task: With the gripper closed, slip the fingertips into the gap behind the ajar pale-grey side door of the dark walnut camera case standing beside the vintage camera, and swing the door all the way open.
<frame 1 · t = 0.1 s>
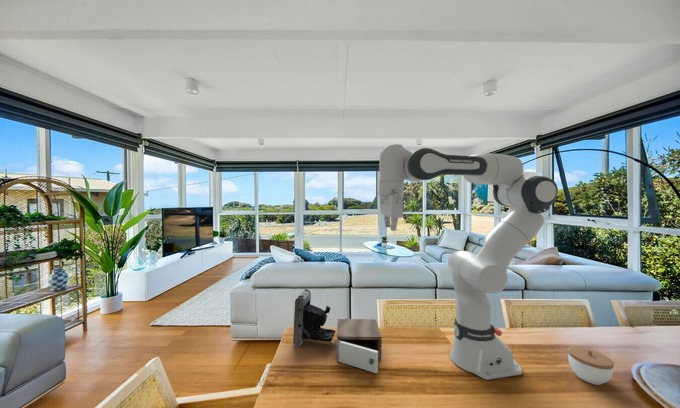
hand: (390, 228, 89), 48 cm above the table, fingers open, 8 cm apart
case: (357, 348, 96), on the table
door: (356, 356, 85), point 4 cm above the table, hinge at 25.0°
vintage camera: (315, 342, 100), on the table
lidded jar: (588, 378, 82), on the table
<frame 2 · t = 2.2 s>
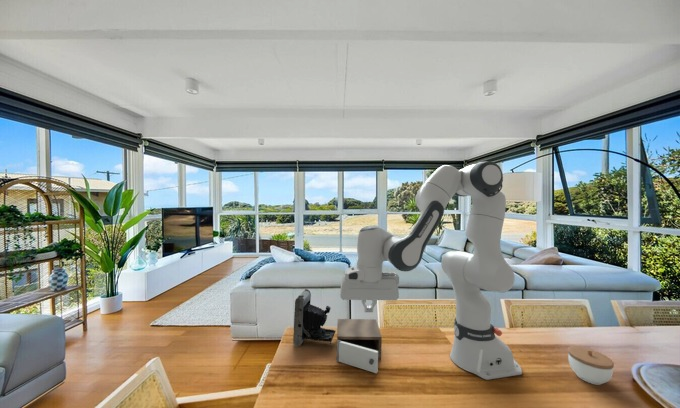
hand: (368, 311, 86), 19 cm above the table, fingers closed
nothing on the table moved.
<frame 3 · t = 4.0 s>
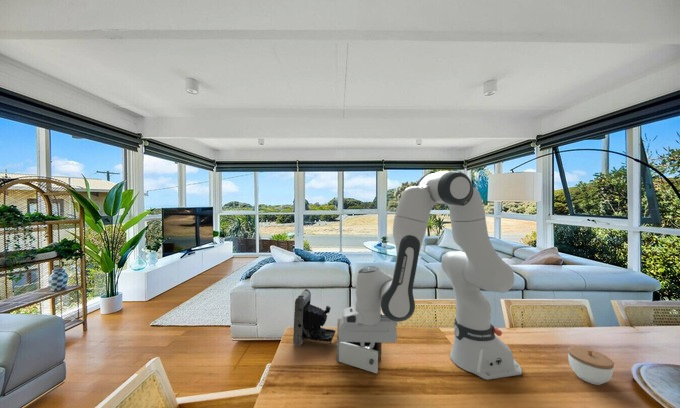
hand: (366, 353, 86), 5 cm above the table, fingers closed
door: (356, 356, 85), point 4 cm above the table, hinge at 25.1°, touching gripper
everything else where it was.
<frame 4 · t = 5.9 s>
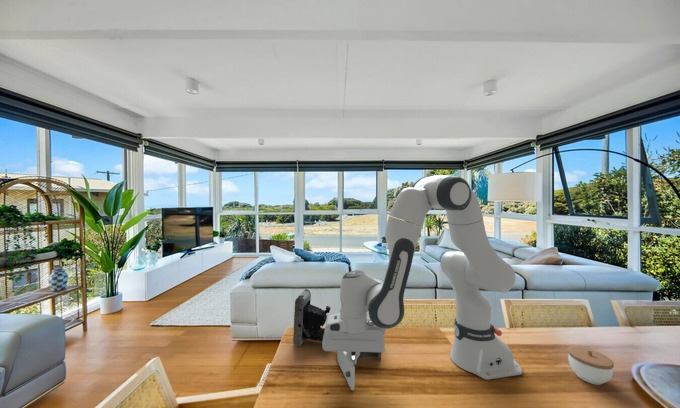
hand: (353, 363, 81), 5 cm above the table, fingers closed
door: (343, 363, 82), point 4 cm above the table, hinge at 72.6°, touching gripper
everything else where it was.
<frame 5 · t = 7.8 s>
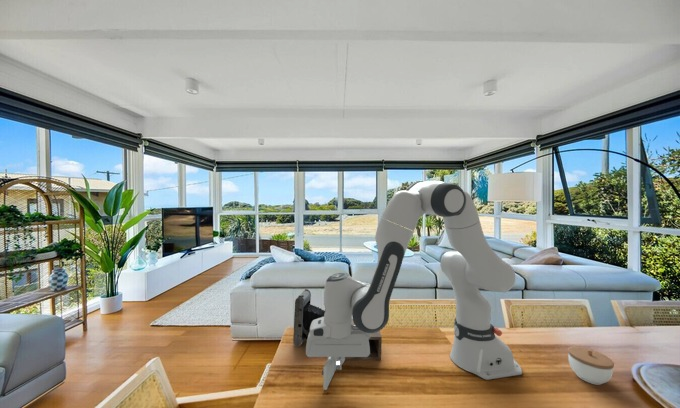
hand: (337, 368, 79), 4 cm above the table, fingers closed
door: (331, 362, 82), point 4 cm above the table, hinge at 107.1°, touching gripper
everything else where it was.
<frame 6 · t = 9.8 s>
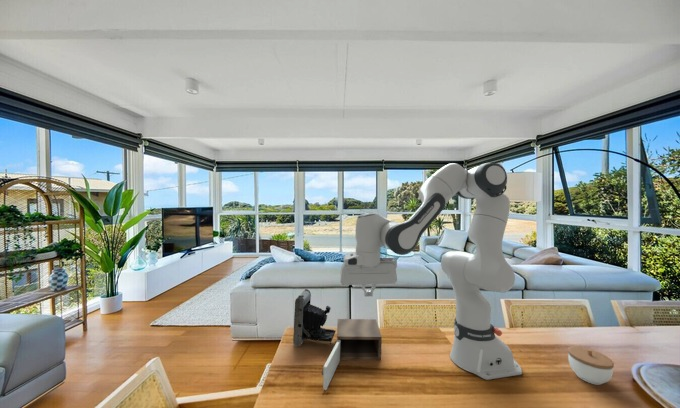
hand: (368, 295, 89), 24 cm above the table, fingers closed
door: (331, 362, 82), point 4 cm above the table, hinge at 107.2°
everything else where it was.
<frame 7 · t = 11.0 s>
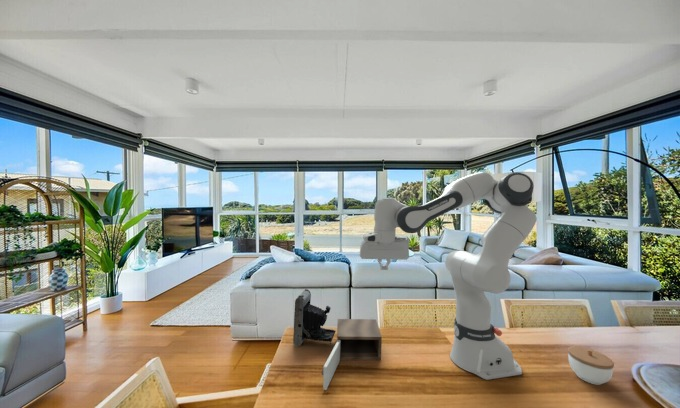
hand: (383, 269, 103), 29 cm above the table, fingers closed
nothing on the table moved.
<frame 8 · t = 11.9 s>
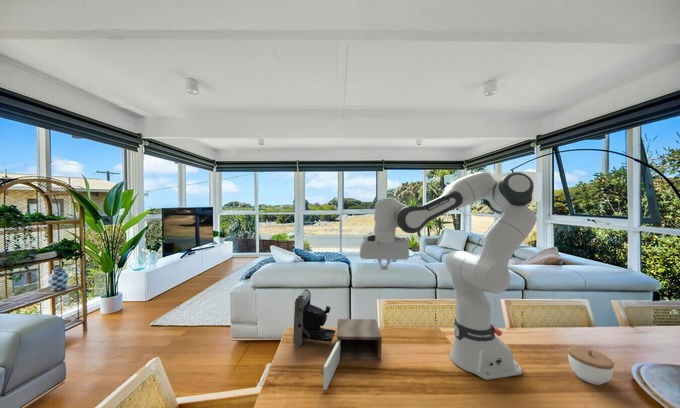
hand: (383, 269, 103), 29 cm above the table, fingers closed
nothing on the table moved.
at the end: door at +107° (first picture: +25°) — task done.
